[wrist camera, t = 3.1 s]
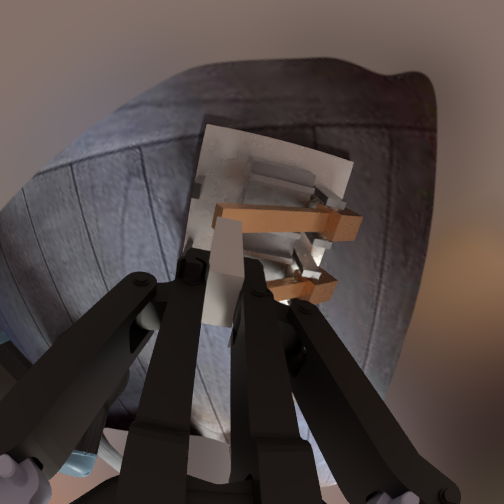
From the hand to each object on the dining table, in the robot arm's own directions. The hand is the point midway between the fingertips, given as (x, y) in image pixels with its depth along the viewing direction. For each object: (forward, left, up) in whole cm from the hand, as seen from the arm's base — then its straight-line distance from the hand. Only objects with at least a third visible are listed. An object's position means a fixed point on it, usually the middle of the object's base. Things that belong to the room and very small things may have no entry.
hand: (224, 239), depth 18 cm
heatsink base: (+5, -4, -16) cm, 17 cm away
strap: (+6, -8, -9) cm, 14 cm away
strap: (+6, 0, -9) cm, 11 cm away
